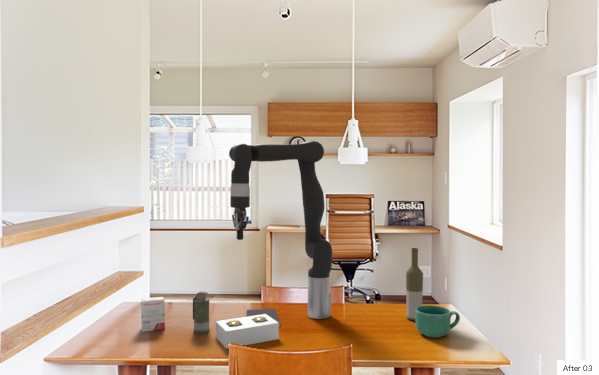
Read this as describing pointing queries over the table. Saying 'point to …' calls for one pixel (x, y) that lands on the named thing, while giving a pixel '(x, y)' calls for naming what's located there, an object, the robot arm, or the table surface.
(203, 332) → the grenade
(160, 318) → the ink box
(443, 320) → the mug
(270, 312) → the notebook
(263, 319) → the peg
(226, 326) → the socket block
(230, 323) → the peg
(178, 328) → the table surface
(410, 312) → the bottle
